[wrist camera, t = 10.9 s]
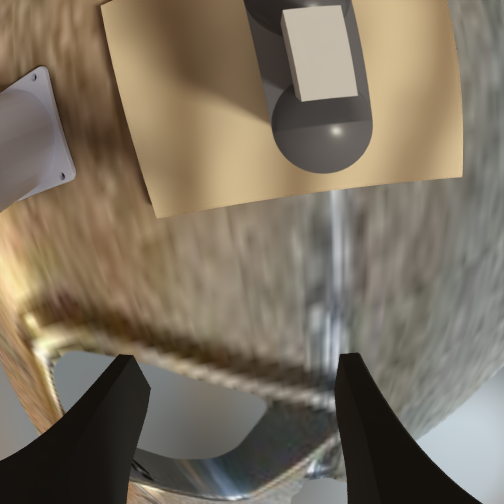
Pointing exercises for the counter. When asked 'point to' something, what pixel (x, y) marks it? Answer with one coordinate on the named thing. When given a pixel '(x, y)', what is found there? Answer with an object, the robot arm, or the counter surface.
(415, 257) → the counter surface
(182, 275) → the counter surface
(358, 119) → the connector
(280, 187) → the birch board
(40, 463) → the robot arm
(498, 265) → the counter surface
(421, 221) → the counter surface
